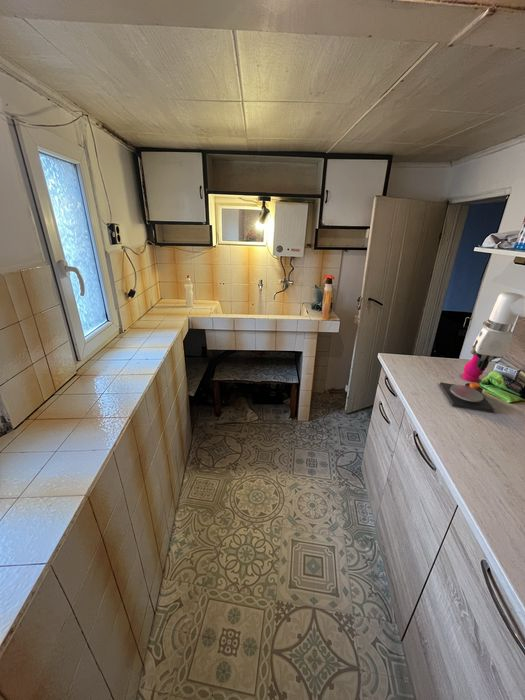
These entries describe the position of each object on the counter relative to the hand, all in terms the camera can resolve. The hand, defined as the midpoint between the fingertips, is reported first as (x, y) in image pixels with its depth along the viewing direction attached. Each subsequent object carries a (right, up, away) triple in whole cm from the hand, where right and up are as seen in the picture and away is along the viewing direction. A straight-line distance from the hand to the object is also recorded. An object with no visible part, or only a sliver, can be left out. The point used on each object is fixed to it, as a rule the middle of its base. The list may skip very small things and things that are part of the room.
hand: (480, 368), depth 113 cm
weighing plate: (-7, -10, -2) cm, 12 cm away
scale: (-6, -12, +1) cm, 13 cm away
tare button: (0, -8, +4) cm, 9 cm away
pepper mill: (+8, -6, +16) cm, 19 cm away
